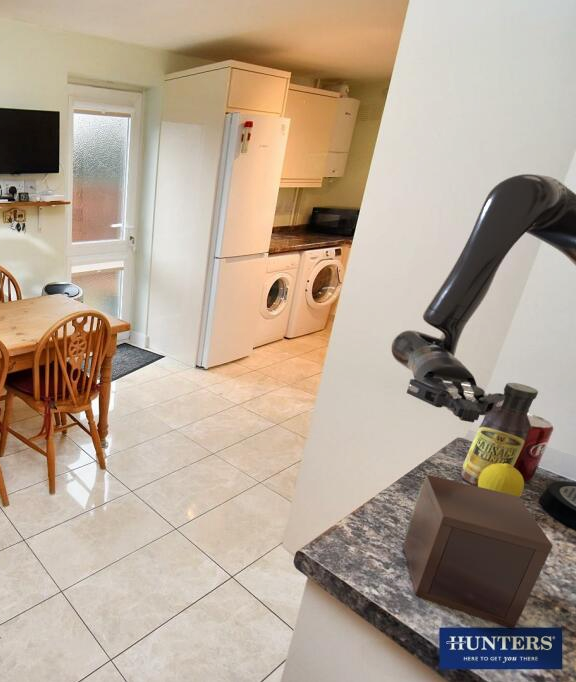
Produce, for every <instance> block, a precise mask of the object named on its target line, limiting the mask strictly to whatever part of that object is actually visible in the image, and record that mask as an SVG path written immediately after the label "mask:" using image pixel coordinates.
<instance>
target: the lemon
mask: <svg viewBox="0 0 576 682" xmlns="http://www.w3.org/2000/svg"><path fill="white" fill-rule="evenodd" d="M477 487H481V488H485V489H490V490H494V491H498V492H502V493H506V494H510V495H514V496H519V497H520V498H521V496H522V494H523V492H524V488H525V483H524V480H523V477H522V475H521V474H520V472H519V471H518V470H517V469H515V468H514V467H512V466H511V465H510V464H507V463H505V464H501V463H497V464H492V465H489V466H487V467H486V468H485V469H484V470H483V471H482V472H481V474H480V476H479V479H478V486H477Z"/></svg>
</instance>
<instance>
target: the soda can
mask: <svg viewBox="0 0 576 682" xmlns="http://www.w3.org/2000/svg"><path fill="white" fill-rule="evenodd" d="M527 416H528V419H529V422H530V424H531V428H530V430H529V433H528V435H527V437H526V439H525V443H524V445H523V447H522V450H521V452H520V454H519V456H518V458H517V460H516V462H515V464H514V466H513V467H514V468H515V469H517V470H518V471H519V472H520V474H521V475H522V477H523V480H524V484H526V483H530V482H532V481H533V480H534V477H535V474H536V473H537V471H538V467H539V465H540V463H541V460H542V458H543V456H544V453H545V452H546V449H547V446H548V443H549V441H550V439H551V436H552V434H553V432H554V426H553V424H552V423H551V422H550V421H549V420H547V419H545V418H543V417H541V416H539V415H536V414H532V413H529V412H528V413H527Z"/></svg>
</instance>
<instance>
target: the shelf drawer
mask: <svg viewBox="0 0 576 682" xmlns="http://www.w3.org/2000/svg"><path fill="white" fill-rule="evenodd" d="M423 483H424V482H422V483H421V485H420V488H419V491H418V494H417V498H416V500H415V504H414V507H413V510H412V513H411V516H410V518H409V522H408V525H407V529H406V531H405V536H406V535H407V532H408V529H409V526H410V523H411V520H412V517H413V514H414V511H415V508H416V505H417V502H418V499H419V496H420V493H421V490H422V486H423Z"/></svg>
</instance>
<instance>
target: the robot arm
mask: <svg viewBox="0 0 576 682" xmlns="http://www.w3.org/2000/svg"><path fill="white" fill-rule="evenodd" d="M474 223H475V224H474V226H473V228H472V230H471V232H470V235H469V237H468V239H467V241H466V242H465V245H464V247H463V249H462V251H461V252H460V254H459V256H458V258H457V259H456V261H455V263H454V265H453V267H452V268H451V270H450V271H449V273H448V274H447V277H446V278H445V280H443V283H442V285H440V287H439V289H438V290H437V292H436V293H435V295H434V296H433V298H432V299H431V301H430V303H428V305H427V307H426V308H425V310H424V312H423V314H422V320H423V321H424V322H425V323H426V324H428V325H429V326H431V327H433V328H434V329H436V330H438V331H439V332H441V335H440V337H437V336H434V335H430V334H427V333H423V332H421V331H419V330H418V331H417V330H414V329H413V330H411V329H410V330H404V331H402V332H400V333H399V334H396V336H395V337H394V339H393V340H392V343H391V347H390V350H391V355H392V357H393V358H394V360H395V361H396V362H397V363H399V364H400V365H402V366H403V367H404V368H405V369H408V370H410V371H411V373H412V377H413V378H410V380H409V382H408V386H407V390H406V394H408V395H410V396H412V397H414V398H416V399H418V400H421V401H422V402H425V403H427V404H429V405H431V406H433V407H434V408H440V409H441V408H446V409H447V410H448V411H449V412H452V413H453V416H455V417H458V419H459V420H460V421H463V422H468V423H474V422H476V421H478V420H479V418H480V416H485V415H486V414H489V413H492V412H495V411H499V410H501V407H502V404H503V402H504V399H505V395H503V394H504V393H499V392H496V393H491V392H489V393H486V391H485V390H484V388H482V387H480V386H478V385H477V382H476V379H475V376H474V375H473V373H472V372H471V371H470V370H469V369H468V368H467V367H466V366H465V365H464V364H463V363H462V361H461V360H459V359H458V358H457V357H456V356H455V355H456V352H457V347H458V344H459V342H460V338H461V336H462V333H463V331H464V329H465V328H466V325H467V324H468V322H469V321H470V320H471V318H472V317H473V315H474V314H475V312H476V311H477V310H478V308H479V307H480V305H481V304H482V303H483V301H484V299H485V298H486V296H487V295H488V292H489V290H490V288H491V286H492V283H493V281H494V279H495V277H496V274H497V272H498V270H499V268H500V266H501V264H502V263H503V261H504V260H505V258H506V256H507V255H508V253H509V252H510V251H511V249H512V248H513V247H514V246H515V244H517V242H518V241H519V240H520V239H521V238H522V237H523V236H524V235H525V234H528V235H530V236H532V237H534V238H537V239H538V240H540V241H541V242H544V243H546V244H547V245H549V246H551V247H552V248H554V249H555V250H557V251H559V252H560V253H562V254H563V255H564V256H565V257H566V258H567V259H569V260H570V262H571V263H572V264H573V265H574V266H575V267H576V193H575V192H574V191H573V190H571V189H570V188H569V187H568V186H566V185H565V184H564V183H562V182H561V181H560V180H558V179H556V178H553V177H552V176H548V175H543V174H535V173H534V174H533V173H523V174H518V175H513V176H511V177H507V178H506V179H504V180H502V181H500V182H499V183H497V184H496V185H495V186H494V187H493V188H492V189H491V190H490V191H489V192H488V194H487V196H486V198H485V200H484V202H483V204H482V206H481V208H480V211H479V213H478V216H477V219H476V221H475V222H474Z"/></svg>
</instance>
